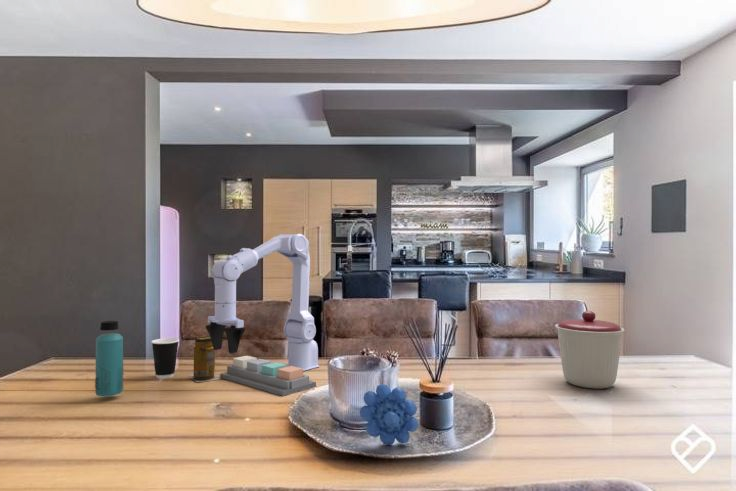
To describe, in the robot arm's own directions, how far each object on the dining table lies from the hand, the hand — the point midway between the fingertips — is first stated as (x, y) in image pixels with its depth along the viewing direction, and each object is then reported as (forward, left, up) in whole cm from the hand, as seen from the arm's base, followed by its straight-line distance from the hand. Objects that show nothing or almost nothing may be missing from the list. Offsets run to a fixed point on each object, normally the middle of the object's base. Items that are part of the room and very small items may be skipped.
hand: (225, 351), depth 131 cm
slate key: (-11, +1, -7) cm, 13 cm away
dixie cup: (+5, -24, -10) cm, 27 cm away
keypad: (-11, +4, -10) cm, 16 cm away
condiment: (-2, -13, -10) cm, 17 cm away
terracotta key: (-11, +15, -7) cm, 20 cm away
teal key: (-11, +8, -7) cm, 15 cm away
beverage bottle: (+25, -14, -10) cm, 31 cm away
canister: (-69, +78, -10) cm, 105 cm away
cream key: (-11, -6, -7) cm, 14 cm away
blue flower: (+3, +60, -10) cm, 61 cm away
